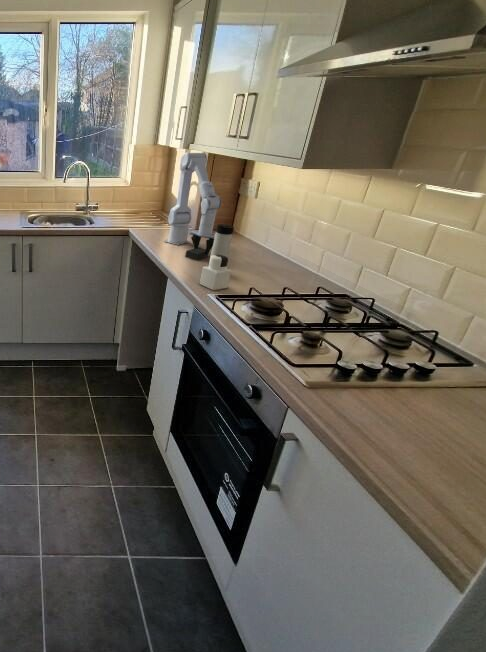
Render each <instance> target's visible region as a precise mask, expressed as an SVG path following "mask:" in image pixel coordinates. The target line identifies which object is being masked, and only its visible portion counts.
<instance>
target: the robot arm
mask: <svg viewBox="0 0 486 652" xmlns="http://www.w3.org/2000/svg"><path fill="white" fill-rule="evenodd" d="M179 164H180V165H179V171H180V176H179V182H178V183H179V184H178V191H177V198H176V205H174V206H173V207H172V208H170V210H169V214H168V217H167V220H168V224H169V225H170V227H169V229H170V230H169V234H168V239H166V240H164V242H166V243H169V244H173V245H176V246H180V245H182V244H186V243H189V240H188V238H189V237H188V236H190V239H191V241H192V245H193V246H192V247H193V249H196V248H200V242H201V240H202V238H204V239H206V240H205V245H206V246H205V249H206V250H205V254H206V255H207V254H208V255H209V253H210V252H211V251H212V247H213V243H214V238H215V233H213V230H214V224H215V220H216V216H217V212H218V211H217V210H219V209H220V208H221V206H222V198H221V197H220V196H219V195H218V194H216V189H215V187H214V183H213V181H209V175H208V170H207V164H208V156H207V154H206V152H185V153H184V154H183V155H182V156H181V158H180V163H179ZM194 172H195V174H196V177H197V179H198V181H199V186H198V190H199V193H200V197H201V202H200V208H201V209H200V213H201V217H200V222H199V227H198V230H195V229H194V230H193V229H189V228H190V227H189V224H190V223H191V221H192V209H191V208H190V207H189V205H188V204H189V198H190V191H191V185H192V178H193V173H194ZM191 235H192V236H191Z"/></svg>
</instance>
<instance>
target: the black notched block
mask: <svg viewBox="0 0 486 652" xmlns="http://www.w3.org/2000/svg"><path fill="white" fill-rule="evenodd" d="M204 255H205V252H204V251H199V252H197V251H196V249H194V248H191V249H187V250H186V251H185V258H188V259H192V260H195V261H199V260H203V259H204V258H205V257H204Z"/></svg>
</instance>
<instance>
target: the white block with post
mask: <svg viewBox="0 0 486 652" xmlns="http://www.w3.org/2000/svg"><path fill="white" fill-rule="evenodd" d="M228 263H229V258H228V257H226V256H223V255H212V256H211V255H210V257H209V262H208V265H207V266H206V265H205V266H203V267H202V270H201V275H200V280H199V285H201V286H203V287H205V288H207V289H210V290H211V291H219V290H224V289H227V288H228V287H229V282H230V278H231V274H232V270H231V269H230V268H229V269H228V268H227V267H228Z"/></svg>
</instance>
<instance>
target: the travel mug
mask: <svg viewBox="0 0 486 652" xmlns="http://www.w3.org/2000/svg"><path fill="white" fill-rule="evenodd" d="M234 230H235V227H234V226H230V225H227V224H217V225H216V229H215V232H214V234H215V238H214V243H213V246H212V248H211V251H210V252H211V253H210V257H211V256H212V255H223V256H226V257H227V258H228V256H229V252H230V248H231V243H232V239H233V235H234Z"/></svg>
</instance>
